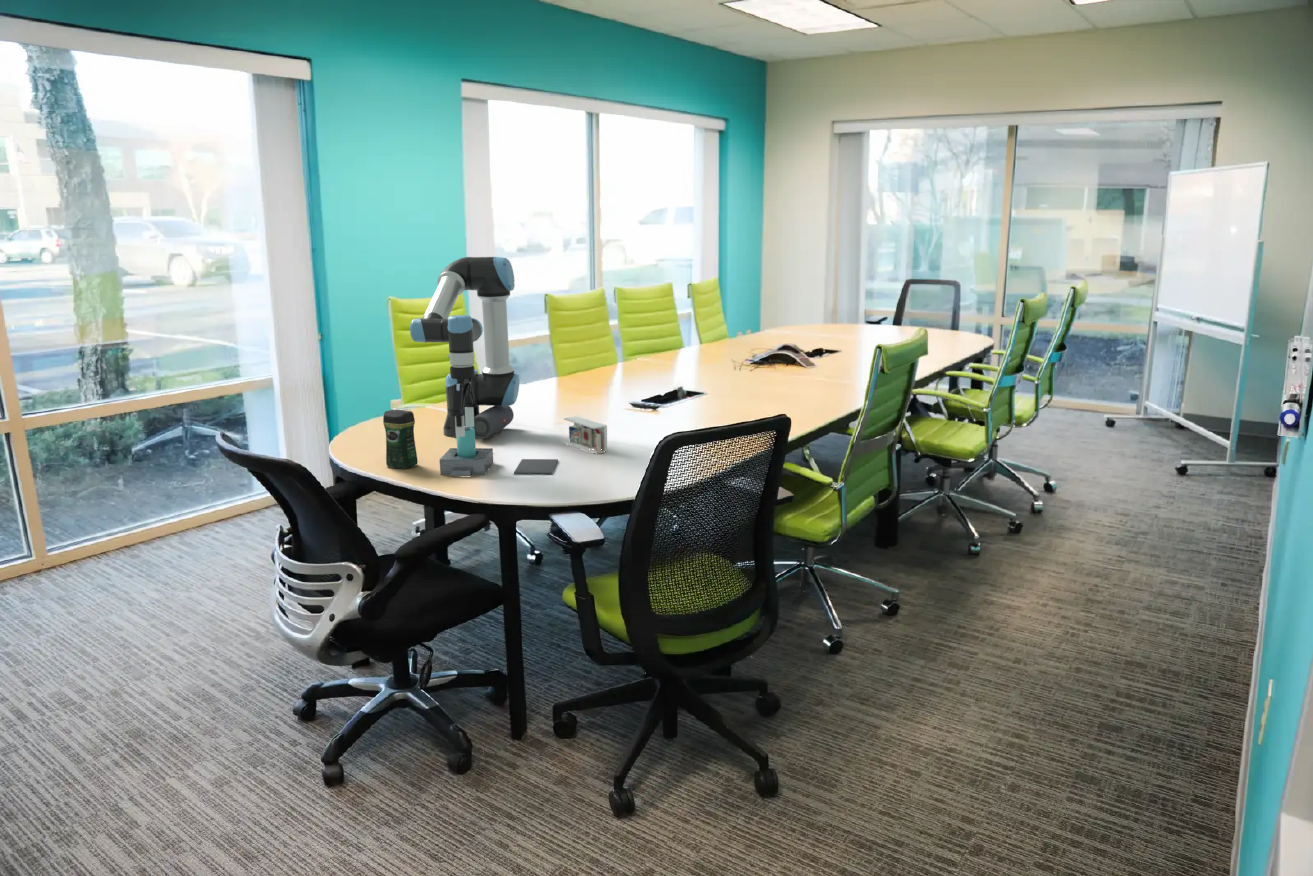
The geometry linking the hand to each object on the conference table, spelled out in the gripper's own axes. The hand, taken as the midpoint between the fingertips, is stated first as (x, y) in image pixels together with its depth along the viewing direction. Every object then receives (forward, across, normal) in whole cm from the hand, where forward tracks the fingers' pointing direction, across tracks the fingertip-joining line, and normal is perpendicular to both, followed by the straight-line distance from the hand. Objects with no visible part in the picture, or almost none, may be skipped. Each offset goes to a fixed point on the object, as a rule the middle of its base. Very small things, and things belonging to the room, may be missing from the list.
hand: (465, 431), depth 294 cm
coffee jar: (+13, -4, -22) cm, 26 cm away
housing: (+12, 0, 0) cm, 12 cm away
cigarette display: (+12, -28, +36) cm, 47 cm away
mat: (+12, -2, +22) cm, 25 cm away
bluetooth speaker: (+12, -46, -1) cm, 48 cm away
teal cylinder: (+12, 0, 0) cm, 12 cm away
